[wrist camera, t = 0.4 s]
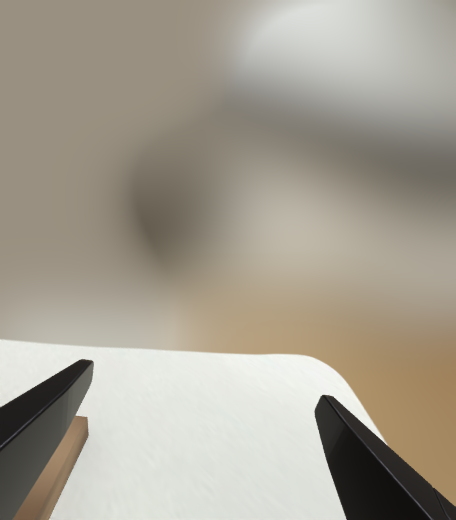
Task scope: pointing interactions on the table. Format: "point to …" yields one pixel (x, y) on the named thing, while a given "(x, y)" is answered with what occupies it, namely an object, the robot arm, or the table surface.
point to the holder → (55, 474)
